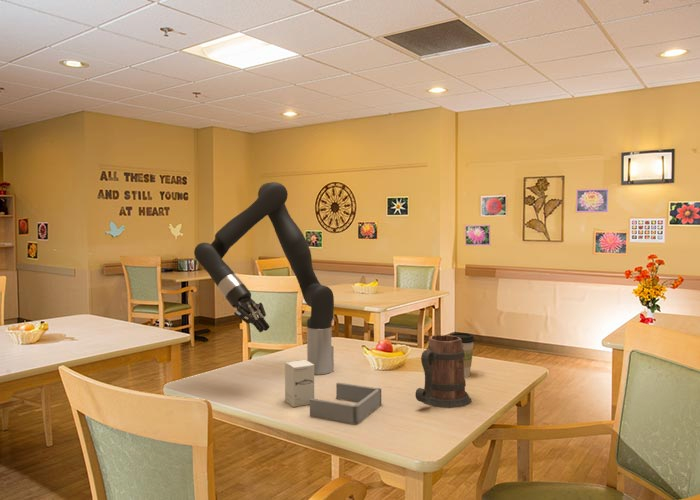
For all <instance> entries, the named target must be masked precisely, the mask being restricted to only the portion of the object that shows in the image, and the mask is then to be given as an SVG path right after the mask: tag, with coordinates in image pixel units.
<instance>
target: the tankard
mask: <svg viewBox="0 0 700 500" xmlns="http://www.w3.org/2000/svg"><path fill="white" fill-rule="evenodd" d="M429 336H430V335H429ZM428 340H429V341H428V346H427V348H426V349H425V350H423V351H422V353H421V356H420V359H421V366H422V369H423V372H424V387H423V388H422V387H419V388H416V391H415V399H416V400H417V401H418V402H419V403H420V402H421V403H423V404H425V405H426V406H430V407H435V408H440V409H458V408H463V407H466V406H469V405H470V404H472V398H471V397H470V395H469V394H468V392H466V378H465V377H464V350H463V345H462V339H461V338H459V337H457V336H451V335H450V334H449V335H448V334H445V335H444V334H443V335H442V334H434V335H431V336H430V337H429V339H428Z"/></svg>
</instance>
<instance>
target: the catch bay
mask: <svg viewBox="0 0 700 500" xmlns="http://www.w3.org/2000/svg"><path fill="white" fill-rule="evenodd" d="M335 389H336V399H337V400H341V401H349V402H355V403H356V404H349V403H342V402H336V401H331V400H325V399H324V400H323V399H318V398H314V399H313V398H312V399H310V404H309V416H310V417H312V418H318V419H322V420H323V419H324V420H329V421H334V422H340V423H346V424H350V425H356V426H357V425H358V424H360V423H361V422H362V421H363V420H364V419H365V418H367V417H368V416H369V415H370V414H372V413H373V412H374V411H375V410H376V409H379V407H380V406H382V388H380V387H379V388H378V387H373V386H365V385H359V384H358V385H357V384H351V383H345V382H339V381H338V382H336V388H335Z"/></svg>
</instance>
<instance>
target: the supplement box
mask: <svg viewBox="0 0 700 500" xmlns="http://www.w3.org/2000/svg"><path fill="white" fill-rule="evenodd" d="M312 398H313V399H315V374H314V364H312V363H310V362H309V361H307V359H302V360H295V361H287V362H286V361H285V363H284V400H285V402H286V403H287V404H289V405H290V406H291V407H292V408H296V407H300V406H301V407H302V406H307V405H310V399H312Z"/></svg>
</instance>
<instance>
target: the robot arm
mask: <svg viewBox="0 0 700 500" xmlns="http://www.w3.org/2000/svg"><path fill="white" fill-rule="evenodd" d="M287 199H288V190H287V188H286V186H285V185H283V184H282V183H279V182H275V181H274V182H273V181H272V182H265V183H263V184H262V185H261V186H260V187H259V188H258V192H257V198H256V200H255V201H254V202H253V203H251V204H250V205H249V206H248V207H247V208H246V209H245V210H243V211H241V212H239V214H237V215H236V216H234V217H233V218H232V219H230V220H229V221H227V223H225V224H224V226H222V227H221V228H220V229H219V230H218V231H217V232H216V233H215V235H214V240H213V241H212V243H209V242H200V243H198V244H197V245H196V246H195V248H194V250H193V254H194V258H195V260H196V261H197V262H198V263H199V264H200V265H201V266H202V268H203V269H204V270H205V271H206V272H207V273H208V275H209V276H210V278H211V280H212V281H213V282H214V283H215V285H216V286H217V287H218V289H219V290H220V291H219V292H221V294H222V295H223V297H224V298H225V299H226V301H228V303H229V304H230V306H231V307H232V308H233V309H236V310H235V311H234V312H233V314H234V315H235V316H236V317H237V318H239V319H240V320H242V321H243V322H245V323H246V324H247V325H248V324H251V325H253V327H255V329H256V330H257V331H258V332H259V333H262V332H264V331H265V332H266V331H268V330H269V328H270V325H269V323H268V322H267V321H266V319H265V317H266V316H267V314H266V311H265V308H264V305H263V303H262V302H259V303H256V302H255V300H253V299H252V293H251V291H250V290H249V288H248V287H247V286H246V285H245V284H244V282H243V281H242V280H241V279H240V277H238V276H237V275H236V274H235V272H234V271H233V270H232V268H231V267H230V266H229V265H228V264H227V263H226V262H225V261H224V260H223V259H224V257H225V255H226V254H227V253H228V252H229V250H230V249H231V248H232V247H233V246H234V245H235V244H236V243H238V241H239V240H240V239H241V238H243V237H244V236H245V235H246V234H247V233H248V232H249V231H250V230H251V229H252V228H253V227H254V226H256V225H257V224H258V223H259V222H260V221H261V220H263V219H264V218H265V217H268V218H269V221H270V222H271V224H272V226H273V227H272V228H273V229H274V232H275V234H276V237H277V239H278V241H279V244H280V247H281V249H282V252H283V253H284V255H285V257H286V259H287V261H288V264H289V266H290V267H291V269H292V272H293V273H294V275H295V277H296V280H297V283H298V285H299V288H300V292H301V294H302V297H303V300H304V302H305V303H306V305H308V307H310V308H311V309H310V317H309V318H308V319H307V321H306V339H307V340H306V348H307V349H306V351H307V352H306V353H307V354H306V357H307V358H306V360H307V361H309V362H310V363H312V364H314V375H317V376H318V375H328V374H330V373H331V372H334V371H335V370H334V369H335V368H334V366H335V363H334V361H335V359H334V356H335V355H334V353H335V352H334V351H335V350H334V348H335V347H334V346H333V345H332V322H333V319H334V313H335V312H334V311H335V310H334V308H335V305H334V304H335V298H334V297H335V296H334V292H333V291H332V289H331V288H330V287H328V286H327V285H323V284H321V283H320V281H319V279H318V277H317V276H316V273H315V270H314V267H313V261H312V253H311V248H310V246H309V244H308V242H307V239H306V238H305V235H304V234H303V232H302V230H301V229H300V227H299V226H298V224H297V223H296V222H295V221H294V219H293V218H292V217H291V214H290V213H289V211H288V209H287V206H286V202H287Z"/></svg>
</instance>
